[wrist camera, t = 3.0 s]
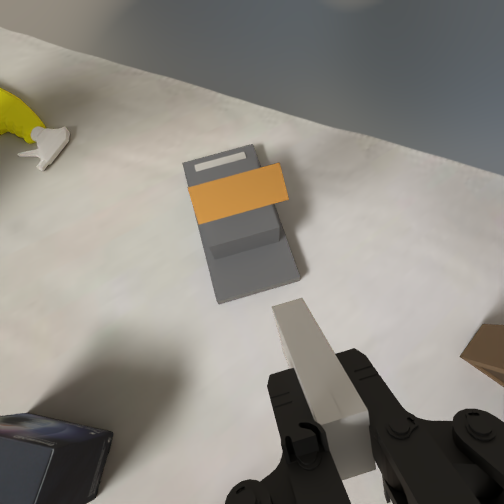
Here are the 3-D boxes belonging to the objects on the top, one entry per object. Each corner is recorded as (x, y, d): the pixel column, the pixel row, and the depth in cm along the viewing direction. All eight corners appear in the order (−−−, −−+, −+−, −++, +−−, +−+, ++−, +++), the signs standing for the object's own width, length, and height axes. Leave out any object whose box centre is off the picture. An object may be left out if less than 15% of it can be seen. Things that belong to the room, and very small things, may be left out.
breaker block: (299, 280, 40) (303, 265, 34) (218, 304, 39) (210, 292, 34) (253, 151, 47) (251, 122, 42) (185, 169, 46) (174, 143, 41)
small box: (117, 427, 35) (57, 445, 25) (96, 500, 33) (21, 552, 23) (26, 408, 36) (-65, 418, 26) (0, 477, 34) (-110, 517, 24)
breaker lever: (266, 202, 37) (288, 199, 25) (206, 219, 37) (198, 224, 24) (260, 178, 37) (279, 162, 24) (199, 194, 36) (187, 187, 24)
